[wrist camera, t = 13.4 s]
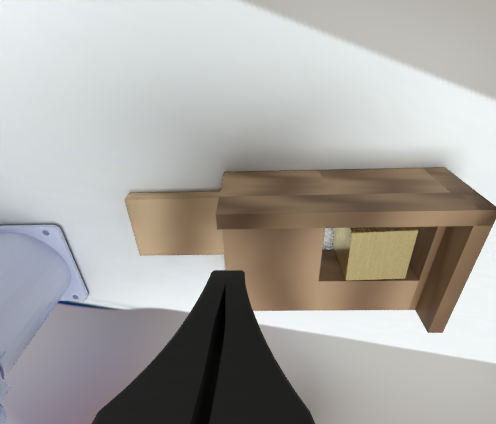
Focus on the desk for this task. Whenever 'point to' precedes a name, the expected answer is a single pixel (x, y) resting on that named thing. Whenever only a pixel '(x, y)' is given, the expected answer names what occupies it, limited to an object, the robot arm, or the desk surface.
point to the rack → (312, 235)
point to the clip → (374, 251)
